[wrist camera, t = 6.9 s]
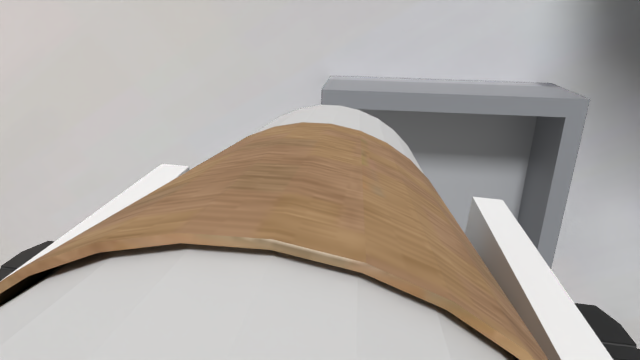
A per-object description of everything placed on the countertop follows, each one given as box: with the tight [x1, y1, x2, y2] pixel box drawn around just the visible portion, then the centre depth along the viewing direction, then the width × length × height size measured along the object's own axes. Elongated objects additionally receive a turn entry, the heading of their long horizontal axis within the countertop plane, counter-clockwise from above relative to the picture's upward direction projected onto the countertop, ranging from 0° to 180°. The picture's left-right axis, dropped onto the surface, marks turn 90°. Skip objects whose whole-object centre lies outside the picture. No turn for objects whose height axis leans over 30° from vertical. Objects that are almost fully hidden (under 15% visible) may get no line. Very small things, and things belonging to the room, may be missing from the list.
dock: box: [321, 76, 590, 269], centre depth 29 cm, size 14×14×6 cm
